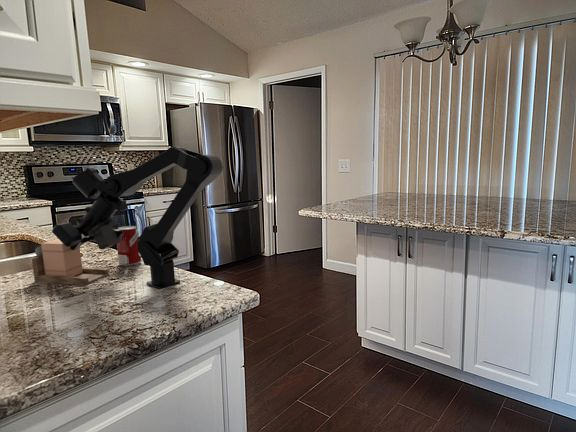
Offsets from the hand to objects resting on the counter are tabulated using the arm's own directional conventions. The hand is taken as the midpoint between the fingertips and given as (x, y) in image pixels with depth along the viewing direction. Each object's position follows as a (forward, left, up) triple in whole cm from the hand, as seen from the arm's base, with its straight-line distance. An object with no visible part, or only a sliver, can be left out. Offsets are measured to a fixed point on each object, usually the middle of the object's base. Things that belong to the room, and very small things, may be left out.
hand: (72, 249), depth 106 cm
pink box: (+3, +2, -8) cm, 9 cm away
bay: (+1, +1, -9) cm, 9 cm away
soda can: (+1, -17, -9) cm, 19 cm away
